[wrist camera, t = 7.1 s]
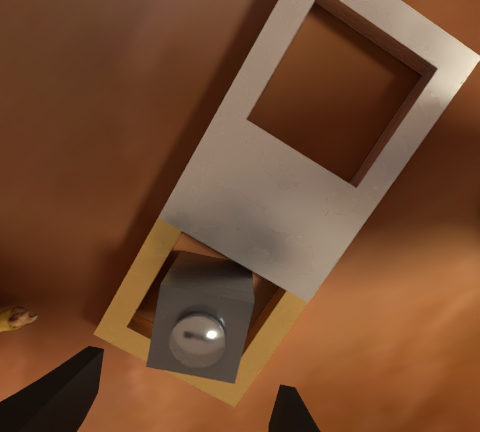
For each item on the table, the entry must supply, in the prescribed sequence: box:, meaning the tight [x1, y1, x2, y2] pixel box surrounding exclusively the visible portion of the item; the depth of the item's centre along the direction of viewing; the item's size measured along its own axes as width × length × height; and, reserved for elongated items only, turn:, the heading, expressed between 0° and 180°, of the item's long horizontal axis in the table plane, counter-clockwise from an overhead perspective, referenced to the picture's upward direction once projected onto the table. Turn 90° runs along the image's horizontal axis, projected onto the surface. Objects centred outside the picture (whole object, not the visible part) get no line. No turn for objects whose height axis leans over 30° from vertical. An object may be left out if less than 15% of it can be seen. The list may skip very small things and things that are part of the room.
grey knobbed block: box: [146, 251, 255, 384], centre depth 17 cm, size 4×4×6 cm
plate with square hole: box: [94, 0, 480, 407], centre depth 18 cm, size 10×24×2 cm, turn 149°
